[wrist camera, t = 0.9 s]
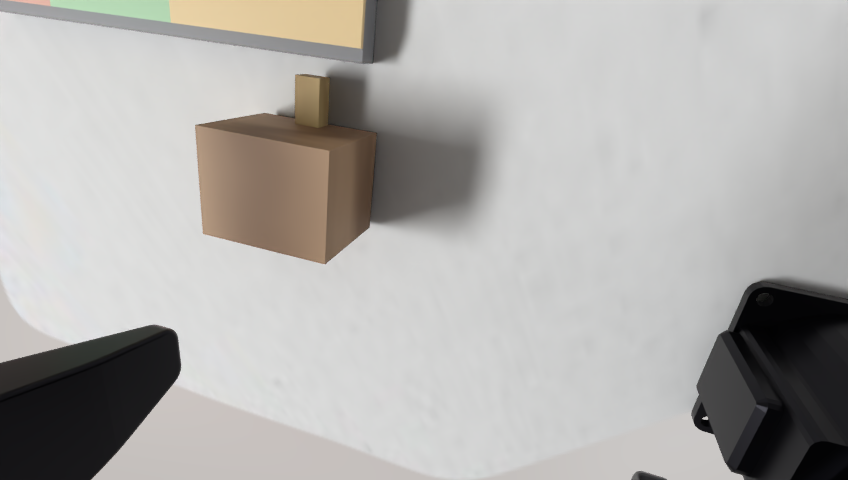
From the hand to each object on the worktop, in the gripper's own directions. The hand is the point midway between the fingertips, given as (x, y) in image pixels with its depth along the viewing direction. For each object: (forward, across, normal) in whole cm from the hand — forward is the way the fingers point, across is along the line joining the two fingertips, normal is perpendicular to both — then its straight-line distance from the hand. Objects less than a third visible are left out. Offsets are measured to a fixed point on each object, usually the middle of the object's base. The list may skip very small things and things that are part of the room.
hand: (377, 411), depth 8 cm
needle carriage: (+12, +8, 0) cm, 14 cm away
